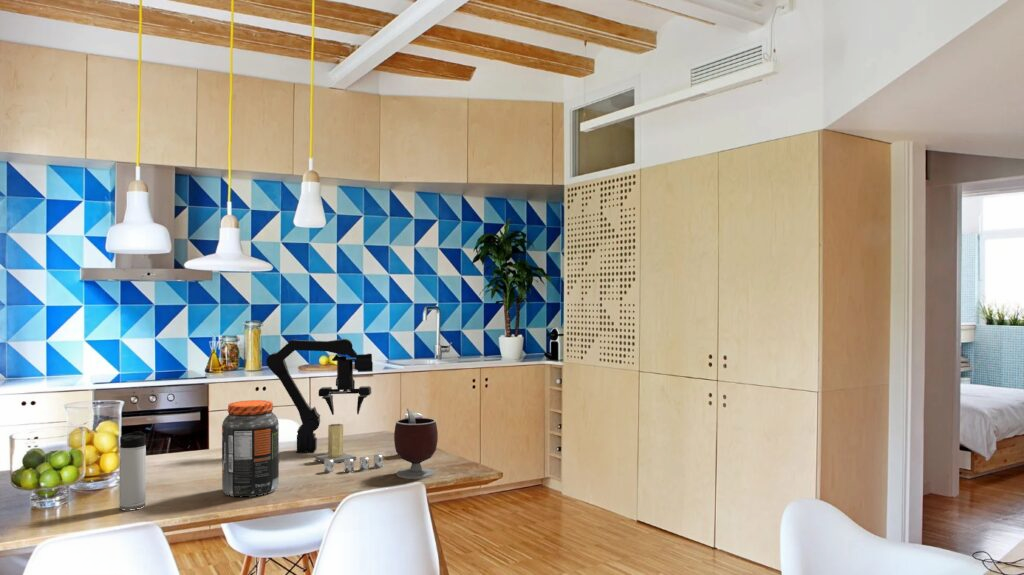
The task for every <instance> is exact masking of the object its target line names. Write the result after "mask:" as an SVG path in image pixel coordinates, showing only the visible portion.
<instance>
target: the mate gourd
mask: <svg viewBox="0 0 1024 575" xmlns="http://www.w3.org/2000/svg"><path fill="white" fill-rule="evenodd" d="M406 411H407V414H408V418H405V417H404V418H400V419H397V420H396V421H395V426H394V434H393V435H394V436H393V442H394V450H395V452H396V454H397V455H398V457H399V458H400V459H401V460H403V461H406V462H408V463H411V465H410V468H403V469H400V470H398V471H397V472H396V476H397V477H398V478H400V479H401V478H402V479H409V480H419V479H426V478H427V477H428V478H431V477H434V476H435V475H436V471H435V469H432V468H427V467H422V465H421V463H423V462H426V461H427V460H429V459H431V458H432V457H433V456H434V454H435V453H436V450H437V446H438V440H439V438H438V437H439V434H438V433H439V432H438V426H437V420H436V419H435V418H430V417H429V418H428V417H423V418H415V417H414V415H413V413H414V412H412V411H411V409H410V408H406ZM433 475H434V476H433ZM430 476H431V477H430Z"/></svg>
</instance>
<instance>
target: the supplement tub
mask: <svg viewBox="0 0 1024 575" xmlns="http://www.w3.org/2000/svg"><path fill="white" fill-rule="evenodd" d="M273 409H274V404H273V401H270V400H262V399H257V400H256V399H254V400H253V399H252V400H239V401H235V402H230V403H228V407H227V412H228V415H227V416H225V418H224V420H223V421H222V424H221V472H222V473H221V476H222V477H221V479H222V480H221V481H222V482H221V483H222V484H221V488H222V492H223V493H224V494H225V495H227V496H229V495H230V497H234V496H240V497H241V498H242V496H249V497H256V495H258V496H263V494H264V495H267V493H268V494H271V493H272V492H274V491H276V490H277V488H278V487H279V481H280V480H279V475H280V474H279V472H280V470H279V460H280V459H279V458H280V457H279V456H280V454H279V450H280V448H279V447H280V446H279V444H280V443H279V438H280V437H279V436H280V434H279V433H280V432H279V430H280V427H279V420H278V417H277V415H276V414H275V413H274V412H273ZM240 497H239V498H240Z"/></svg>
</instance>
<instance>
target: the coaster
mask: <svg viewBox="0 0 1024 575" xmlns="http://www.w3.org/2000/svg"><path fill="white" fill-rule="evenodd" d="M348 458H352V459H354V461H356V460H357V456H356V455H352V454H348V453H344V452H343V456H342V457H340V458H330V457H328V454H324V455H318V456H315V460H316V459H317V460H320V461H319V462H321V461H323V462H322V463H324V460H325V459H334V463H337V464H339V463H338V462H343V463H344V459H348ZM317 460H316V461H317Z"/></svg>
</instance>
